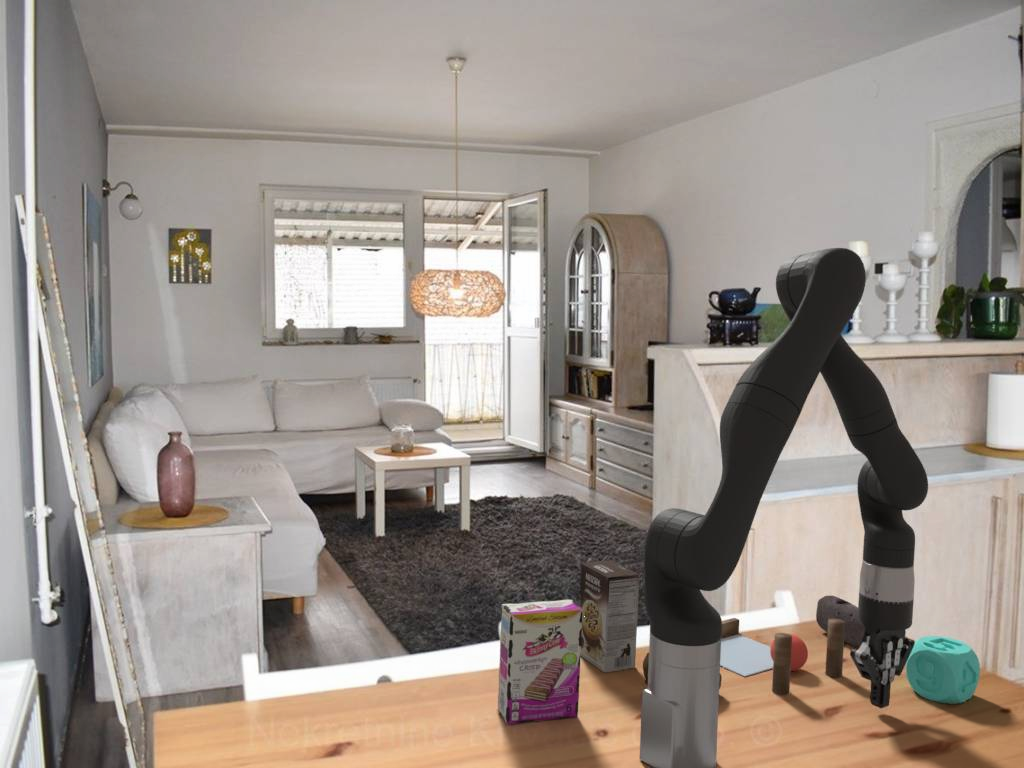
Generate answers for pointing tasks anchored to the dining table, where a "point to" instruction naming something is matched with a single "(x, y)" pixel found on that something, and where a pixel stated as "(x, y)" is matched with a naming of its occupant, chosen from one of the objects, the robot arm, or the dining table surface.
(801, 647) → the ball
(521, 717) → the candy bar box
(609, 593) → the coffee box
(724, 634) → the stopper rail
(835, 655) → the post right
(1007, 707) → the dining table surface
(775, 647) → the post left
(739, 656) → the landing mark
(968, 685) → the decorative dice
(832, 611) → the perforated stone tool
